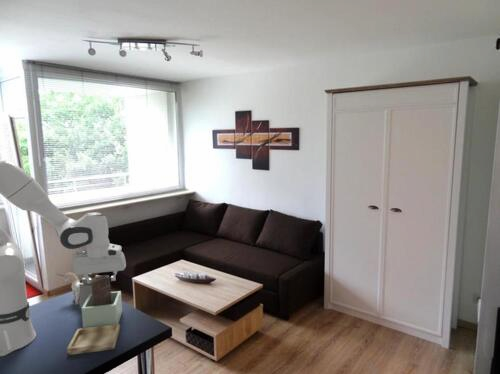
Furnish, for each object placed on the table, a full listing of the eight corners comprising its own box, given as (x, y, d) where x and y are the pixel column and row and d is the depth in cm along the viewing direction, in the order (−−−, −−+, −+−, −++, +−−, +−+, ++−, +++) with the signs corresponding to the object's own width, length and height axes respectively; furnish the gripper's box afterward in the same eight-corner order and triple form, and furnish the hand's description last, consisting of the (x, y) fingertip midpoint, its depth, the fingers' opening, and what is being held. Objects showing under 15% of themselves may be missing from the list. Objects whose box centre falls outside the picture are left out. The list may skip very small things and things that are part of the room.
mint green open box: (83, 331, 137) (81, 308, 135) (91, 314, 149) (89, 293, 148) (117, 327, 139) (115, 305, 138) (122, 311, 152) (120, 291, 151)
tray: (67, 355, 122) (67, 348, 122) (78, 334, 135) (77, 328, 134) (114, 349, 125) (113, 343, 125) (120, 329, 138) (119, 324, 137)
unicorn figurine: (72, 293, 170) (69, 268, 168) (97, 302, 160) (94, 276, 158) (58, 299, 164) (55, 273, 162) (83, 309, 154) (80, 282, 152)
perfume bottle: (93, 314, 150) (90, 276, 147) (81, 312, 152) (78, 274, 149) (104, 307, 156) (101, 270, 153) (92, 305, 158) (89, 268, 155)
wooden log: (106, 326, 140) (102, 281, 137) (90, 325, 141) (86, 280, 138) (116, 317, 147) (113, 274, 144) (101, 315, 149) (98, 272, 146)
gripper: (69, 255, 135) (72, 287, 137) (122, 250, 139) (125, 282, 141) (74, 250, 141) (77, 281, 143) (125, 245, 145) (127, 276, 147)
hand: (101, 281), depth 142 cm, fingers open, 8 cm apart
